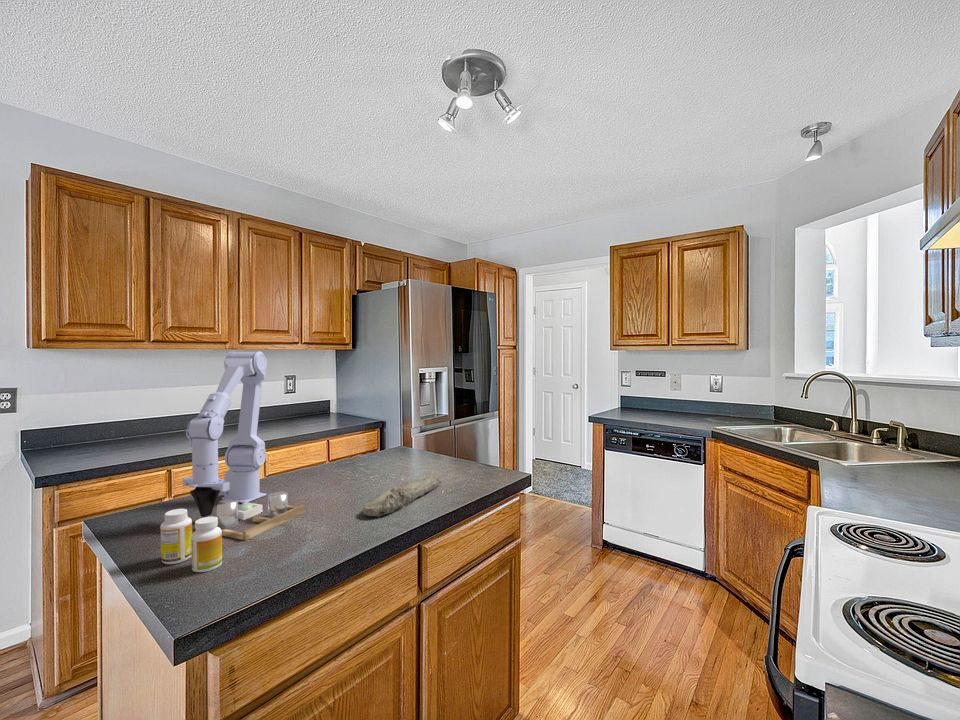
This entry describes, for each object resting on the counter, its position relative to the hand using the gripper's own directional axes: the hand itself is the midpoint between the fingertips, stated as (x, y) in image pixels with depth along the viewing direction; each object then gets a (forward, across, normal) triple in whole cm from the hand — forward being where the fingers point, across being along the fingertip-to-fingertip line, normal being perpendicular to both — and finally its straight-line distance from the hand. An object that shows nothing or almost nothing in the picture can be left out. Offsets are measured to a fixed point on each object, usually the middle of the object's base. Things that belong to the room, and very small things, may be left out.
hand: (206, 515), depth 115 cm
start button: (+1, +6, +7) cm, 9 cm away
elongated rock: (+2, +40, +34) cm, 52 cm away
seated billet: (+2, +15, +9) cm, 18 cm away
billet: (+2, +8, 0) cm, 8 cm away
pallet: (+2, +16, +4) cm, 16 cm away
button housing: (+2, +6, +7) cm, 9 cm away
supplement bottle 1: (+2, +14, -17) cm, 22 cm away
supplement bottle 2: (+2, +22, -17) cm, 28 cm away
